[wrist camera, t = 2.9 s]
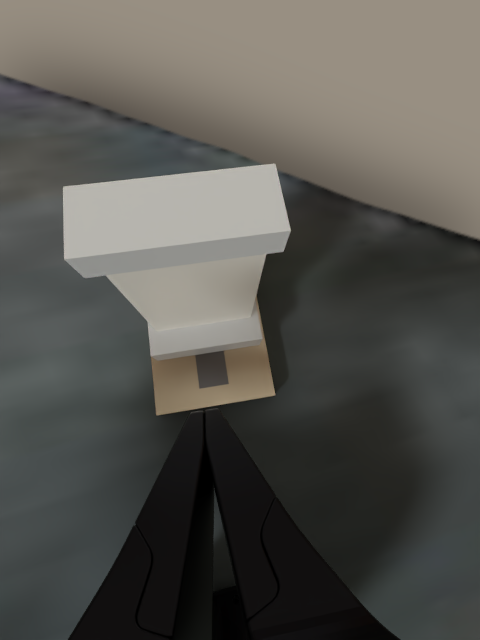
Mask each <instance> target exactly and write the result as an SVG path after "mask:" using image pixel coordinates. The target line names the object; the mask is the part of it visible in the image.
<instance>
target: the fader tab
mask: <svg viewBox="0 0 480 640" xmlns="http://www.w3.org/2000/svg"><path fill="white" fill-rule="evenodd" d="M63 215H64V260H65V261H66V262H68V263H69V264H70V265H71V266H72V267H73V268H74V269H75V270H76V271H77V272H79V273H80V274H81V275H82V276H83V277H84V278H89V277H97V276H104V275H106V276H107V277H108V279H109V280H110V281H111V282H112V283H113V284H114V285H115V286H116V287H117V288H118V289H119V291H120V292H121V293H122V294H123V295H124V296H125V297H126V298H127V299H128V300H129V302H130V303H131V304H132V305H133V306H134V307H135V308H136V309H137V310H138V311H139V312H140V314H141V315H142V316H143V317H144V318H145V319H146V320H147V321H148V330H149V341H150V353H151V357H153V358H154V359H156V360H157V361H160V360H166V359H173V358H179V357H186V356H192V355H199V354H205V353H211V352H218V351H224V350H231V349H237V348H244V347H250V346H256V345H260V343H261V341H262V339H263V338H262V333H261V328H260V322H259V317H258V312H257V306H256V301H255V298H256V294H257V290H258V286H259V282H260V278H261V274H262V270H263V266H264V262H265V258H266V254H270V253H278V252H284V249H285V246H286V243H287V240H288V237H289V234H290V232H291V229H290V225H289V220H288V216H287V212H286V208H285V203H284V199H283V195H282V191H281V186H280V182H279V178H278V173H277V169H276V165H275V164H267V165H258V166H249V167H239V168H230V169H221V170H212V171H203V172H194V173H185V174H176V175H167V176H157V177H148V178H139V179H130V180H121V181H112V182H103V183H94V184H85V185H75V186H66V187H63Z"/></svg>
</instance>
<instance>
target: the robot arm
mask: <svg viewBox="0 0 480 640" xmlns="http://www.w3.org/2000/svg"><path fill="white" fill-rule="evenodd" d="M214 488H215V493H216V497H217V502H218V506H219V511H220V515H221V520H222V524H223V529H224V533H225V538H226V542H227V547H228V551H229V556H230V560H231V565H232V569H233V574H234V578H235V583H236V586H233V587H230V588H227V589H224V590H221V591H218V592H214V593H213V535H214ZM135 524H136V525H134V526H133V527H132V529H131V531H130V533H129V535H128V537H127V539H126V541H125V543H124V545H123V547H122V549H121V551H120V553H119V555H118V557H117V558H116V560H115V562H114V564H113V566H112V568H111V569H110V571H109V573H108V574H107V576H106V578H105V579H104V581H103V583H102V585H101V586H100V588H99V590H98V591H97V593H96V595H95V596H94V598H93V599H92V601H91V603H90V604H89V606H88V608H87V609H86V611H85V612H84V614H83V616H82V617H81V619H80V621H79V622H78V624H77V625H76V627H75V629H74V630H73V632H72V634H71V635H70V637H69V638H68V640H400V639H399V638H398V637H397V636H395V635H394V634H393V633H391V632H390V631H389V630H388V629H386V628H385V627H384V626H383V625H382V624H381V623H380V622H379V621H378V620H377V619H376V618H375V617H374V616H373V615H372V614H371V613H370V612H369V611H368V610H367V609H366V608H365V607H364V606H363V605H362V604H361V603H360V601H359V600H358V599H357V598H356V597H355V596H354V595H353V593H352V592H351V591H350V590H349V589H348V587H347V586H346V585H345V584H344V583H343V582H342V580H341V579H340V578H339V577H338V576H337V574H336V573H335V572H334V571H333V570H332V569H331V567H330V566H329V565H328V564H327V563H326V561H325V560H324V559H323V558H322V557H321V556H320V554H319V553H318V552H317V551H316V550H315V548H314V547H313V546H312V545H311V543H310V542H309V541H308V540H307V538H306V537H305V536H304V535H303V533H302V532H301V531H300V530H299V528H298V527H297V526H296V524H295V523H294V521H293V520H292V518H291V517H290V516H289V514H288V513H287V511H286V510H285V508H284V507H283V505H282V504H281V502H280V501H279V499H278V498H276V495H275V493H274V492H273V490H272V489H271V487H270V486H269V484H268V483H267V481H266V480H265V478H264V477H263V475H262V474H261V472H260V471H259V469H258V468H257V466H256V464H255V463H254V461H253V460H252V458H251V457H250V455H249V454H248V452H247V451H246V449H245V448H244V446H243V445H242V443H241V442H240V440H239V439H238V437H237V436H236V434H235V432H234V431H233V429H232V428H231V426H230V425H229V423H228V422H227V420H226V419H225V417H224V416H223V414H222V413H221V411H220V410H219V409H218V408H214V409H208V410H205V413H204V411H196V412H191V413H190V414H189V416H188V417H187V419H186V422H185V424H184V426H183V428H182V430H181V432H180V434H179V436H178V438H177V440H176V442H175V444H174V446H173V448H172V450H171V452H170V454H169V456H168V458H167V460H166V462H165V464H164V466H163V468H162V470H161V472H160V474H159V476H158V478H157V480H156V482H155V484H154V486H153V488H152V490H151V492H150V494H149V496H148V498H147V500H146V502H145V504H144V506H143V508H142V510H141V512H140V514H139V516H138V518H137V520H136V522H135ZM235 594H238V596H239V600H233V598H232V597H233V595H235Z"/></svg>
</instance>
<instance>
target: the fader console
mask: <svg viewBox="0 0 480 640" xmlns="http://www.w3.org/2000/svg"><path fill="white" fill-rule="evenodd" d="M255 301H256V306H257V312H258V317H259V322H260V328H261V333H262V338H263V339H262V341H261V343H260V345H256V346H250V347H244V348H237V349H231V350H224V351H218V352H211V353H205V354H199V355H192V356H186V357H179V358H173V359H166V360H160V361H157V360H156V359H154V358H153V357H151V361H152V372H153V383H154V394H155V405H156V415H164V414H170V413H176V412H182V411H188V410H194V409H200V408H206V407H212V406H217V405H223V404H229V403H235V402H241V401H247V400H253V399H259V398H265V397H271V396H275V390H274V385H273V380H272V374H271V369H270V364H269V359H268V353H267V348H266V343H265V337H264V332H263V327H262V322H261V316H260V311H259V306H258V301H257V295H256V298H255Z"/></svg>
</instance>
